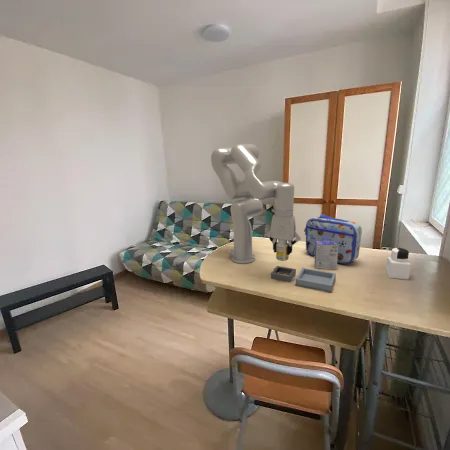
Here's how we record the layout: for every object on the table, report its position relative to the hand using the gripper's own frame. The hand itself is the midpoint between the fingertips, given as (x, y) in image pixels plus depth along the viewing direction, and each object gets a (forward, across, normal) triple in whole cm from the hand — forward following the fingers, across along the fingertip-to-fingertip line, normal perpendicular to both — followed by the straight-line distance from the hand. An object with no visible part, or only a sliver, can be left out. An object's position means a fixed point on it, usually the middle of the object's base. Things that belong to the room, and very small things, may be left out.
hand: (282, 252), depth 115 cm
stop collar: (+11, +1, 0) cm, 11 cm away
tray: (+11, +15, 0) cm, 19 cm away
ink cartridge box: (+11, +16, +18) cm, 26 cm away
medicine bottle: (+11, +45, +21) cm, 51 cm away
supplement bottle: (+3, 0, 0) cm, 3 cm away
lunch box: (+12, +16, +30) cm, 36 cm away
